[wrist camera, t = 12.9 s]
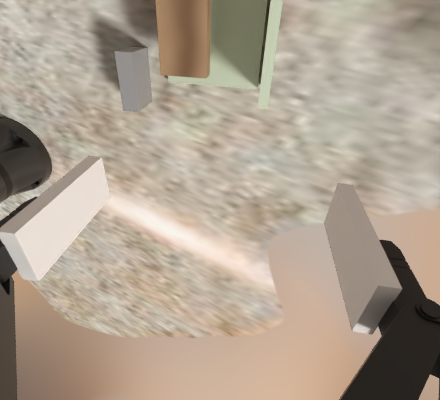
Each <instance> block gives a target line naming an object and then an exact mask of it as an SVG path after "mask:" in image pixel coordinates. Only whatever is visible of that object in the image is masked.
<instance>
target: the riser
mask: <svg viewBox="0 0 440 400" xmlns="http://www.w3.org/2000/svg"><path fill="white" fill-rule="evenodd" d="M114 53H115V59H116V66H117V72H118V79H119V85H120V92H121V98H122V105H123V111H133V112H139V111H141V110H142V109H143V108H144V107H146V106H147V105H148V104H149V103H151V102H152V93H151V83H150V72H149V61H148V50H147V47H128V48H125V49H121V50H117V51H114Z"/></svg>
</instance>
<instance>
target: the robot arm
mask: <svg viewBox="0 0 440 400" xmlns="http://www.w3.org/2000/svg"><path fill="white" fill-rule="evenodd" d="M51 171H52V164H51V159H50V156H49V154H48V152H47V150H46V148H45V147H44V145H43V144H42V142H41V141H40V140H39V139H38V138H37V137H36V136H35V135H34V134H33V133H32V132H31V131H30V130H29V129H27V128H26V127H24V126H23V125H21V124H19V123H17V122H15V121H13V120H10V119H7V118H2V117H0V203H1V202H3V201H4V200H5V199H7V198H8V197H10V196H12V195H16V194H19V193H22V192H26V191H29V190H33V189H35V188H37V187H39V186H40V185H42V184H43V183H44V182H46V181H47V180H48V179H49V177H50V175H51ZM109 198H110V193H109V189H108V184H107V179H106V175H105V170H104V166H103V161H102V157H95V156H88V157H87V158H86V159H84V160H83V161H82V162H81V163H79V164H78V165H77V166H76V167H75V168H73V169H72V170H71V171H70V172H68V173H67V174H66V175H65V176H63V177H62V178H61V179H60V180H58V181H57V182H56V183H55V184H54V185H52V186H51V187H50V188H49V189H47V190H46V191H45V192H44V193H42V194H41V195H40V196H39V197H34V198H32V199H30V200H28V201H26V202H24V203H23V204H22V205H20V206H19V207H18V208H16V210H14V211H13V212H11V213H10V214H9V216H6V217H5V218H4V219H2V220H1V221H0V400H17V375H16V340H15V305H14V281H13V278H12V277H11V276H12V275H13V274H14V273H15V271H16V270H18V272H19V274H20V276H21V277H22V279H26V280H32V281H38V282H39V281H40V279H41V278H42V277H43V276H44V275H45V274H46V272H47V271H48V270H49V269H50V268H51V266H52V265H53V264H54V263H55V262H56V261H57V259H58V258H59V257H60V256H61V255H62V253H63V252H64V251H65V250H66V249H67V248H68V246H69V245H70V244H71V243H72V242H73V241H74V239H75V238H76V237H77V236H78V235H79V233H80V232H81V231H82V230H83V229H84V228H85V226H86V225H87V224H88V223H89V222H90V220H91V219H92V218H93V217H94V216H95V215H96V213H97V212H98V211H99V210H100V209H101V208H102V206H103V205H104V204H105V203H106V202H107V200H108V199H109ZM324 225H325V229H326V233H327V236H328V240H329V244H330V248H331V252H332V256H333V260H334V264H335V268H336V271H337V275H338V279H339V283H340V287H341V291H342V294H343V299H344V302H345V306H346V310H347V314H348V318H349V321H350V326H351V329H352V331H354V332H360V333H367V334H373V333H374V331H375V330H376V328H377V327H378V326H379V329H380V332H381V335H382V337H381V338H380V340H379V341H378V342H377V344H376V345H375V347H374V348H373V349H372V351H371V353H370V354H369V356H368V357H367V359H366V360H365V362H364V364H363V365H362V366H361V368H360V369H359V371H358V372H357V374H356V375H355V377H354V378H353V380H352V381H351V383H350V384H349V386H348V387H347V389H346V390H345V391H344V393H343V395H342V396H341V397H340V399H339V400H418V399H419V396H420V394H421V392H422V390H423V388H424V386H425V384H426V381H427V379H428V377H429V375H430V374H431V375H433V376H436V377H438V378H439V400H440V306H439V305H438V304H437V303H435V302H434V301H432V300H430V299H427V298H426V296H425V294H424V292H423V290H422V289H421V287H420V285H419V283H418V281H417V280H416V278H415V276H414V274H413V272H412V270H410V267H409V265H408V263H407V262H406V261H405V258H404V256H403V254H402V252H401V250H400V249H399V248H398V247H396V246H395V244H393V243H392V242H391V241H386V240H379V239H378V237H377V235H376V232H375V231H374V228H373V226H372V224H371V222H370V220H369V218H368V216H367V214H366V212H365V209H364V207H363V205H362V203H361V201H360V199H359V197H358V195H357V193H356V191H355V189H354V186H353V185H349V184H340V183H338V184H337V187H336V190H335V193H334V196H333V199H332V202H331V205H330V208H329V211H328V214H327V217H326V220H325V223H324Z"/></svg>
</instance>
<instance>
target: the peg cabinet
mask: <svg viewBox="0 0 440 400" xmlns="http://www.w3.org/2000/svg"><path fill="white" fill-rule="evenodd" d="M267 1H268V0H211V36H210V75H209V76H208V77H207V78H206V79H205V78H192V77H179V76H168V82H173V83H186V84H198V85H210V86H222V87H235V88H247V89H257V87H258V79H259V70H260V61H261V53H262V44H263V35H264V27H265V18H266V10H267ZM282 3H283V0H271V1H270V10H269V18H268V26H267V34H266V43H265V51H264V59H263V67H262V76H261V84H260V92H259V101H258V109H268V102H269V94H270V87H271V80H272V73H273V66H274V59H275V52H276V45H277V38H278V31H279V24H280V17H281V10H282Z"/></svg>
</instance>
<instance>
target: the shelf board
mask: <svg viewBox="0 0 440 400" xmlns="http://www.w3.org/2000/svg"><path fill="white" fill-rule="evenodd" d="M155 2H156V16H157V30H158V44H159V58H160V72H161V75H167V76H179V77H192V78H205V79H206V78H207V77H208V76H209V75H210V36H211V0H155Z"/></svg>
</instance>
